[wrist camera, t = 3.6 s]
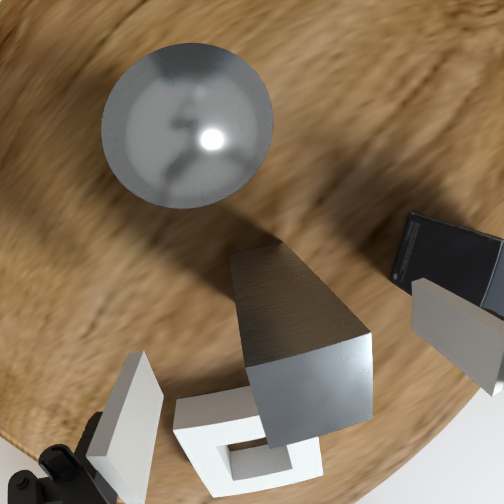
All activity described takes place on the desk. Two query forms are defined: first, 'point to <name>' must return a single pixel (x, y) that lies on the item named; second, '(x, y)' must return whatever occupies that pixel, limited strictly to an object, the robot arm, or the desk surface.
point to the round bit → (187, 125)
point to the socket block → (234, 431)
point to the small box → (452, 261)
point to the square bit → (299, 347)
